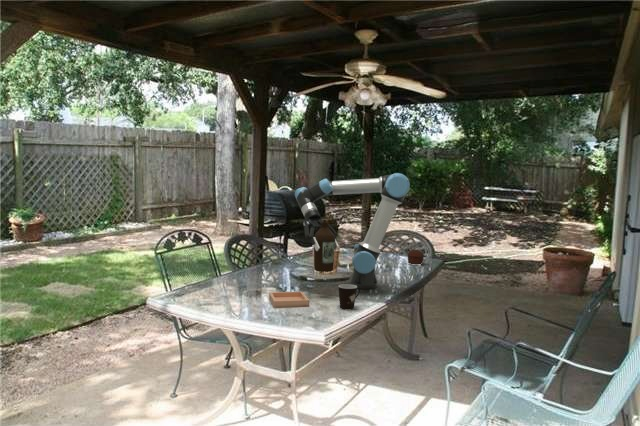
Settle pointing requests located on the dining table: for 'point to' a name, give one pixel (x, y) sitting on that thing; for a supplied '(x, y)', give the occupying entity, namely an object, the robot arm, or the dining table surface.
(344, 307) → the coffee mug
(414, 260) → the muffin
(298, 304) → the bin
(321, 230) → the olive oil
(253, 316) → the dining table surface
